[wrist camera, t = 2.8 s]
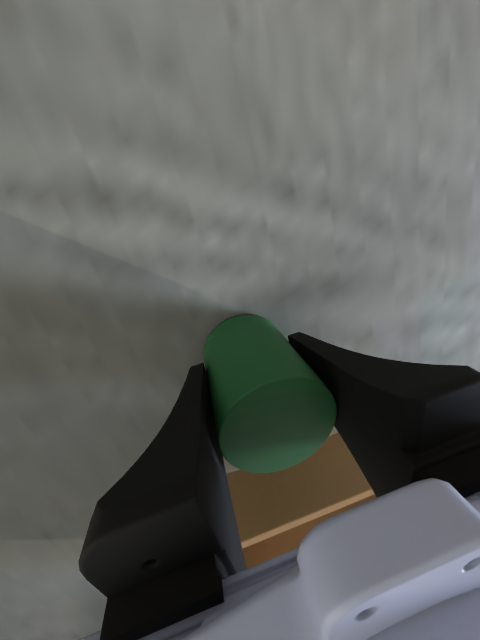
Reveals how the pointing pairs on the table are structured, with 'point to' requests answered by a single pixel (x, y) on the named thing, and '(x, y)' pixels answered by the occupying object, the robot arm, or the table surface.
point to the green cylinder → (264, 397)
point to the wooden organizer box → (294, 499)
